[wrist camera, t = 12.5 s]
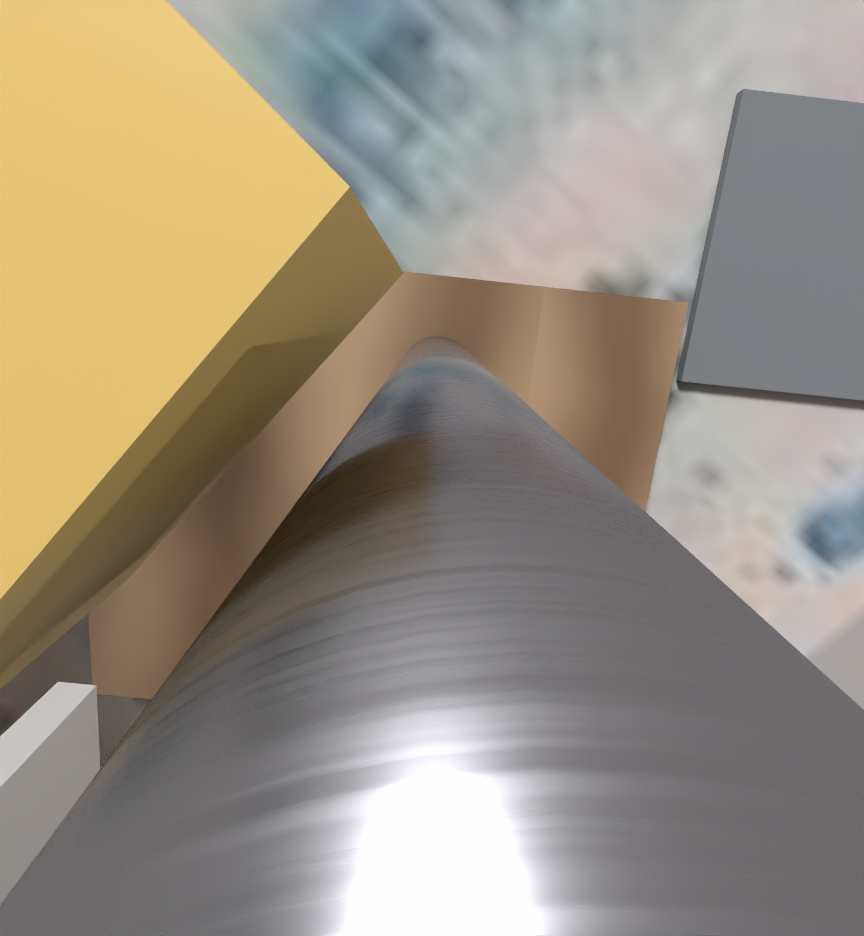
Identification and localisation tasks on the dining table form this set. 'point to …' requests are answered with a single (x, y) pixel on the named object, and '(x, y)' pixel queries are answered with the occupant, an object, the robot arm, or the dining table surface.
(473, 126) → the dining table surface
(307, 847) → the post
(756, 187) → the mat
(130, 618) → the socket board
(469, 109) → the dining table surface
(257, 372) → the bar
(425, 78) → the dining table surface
